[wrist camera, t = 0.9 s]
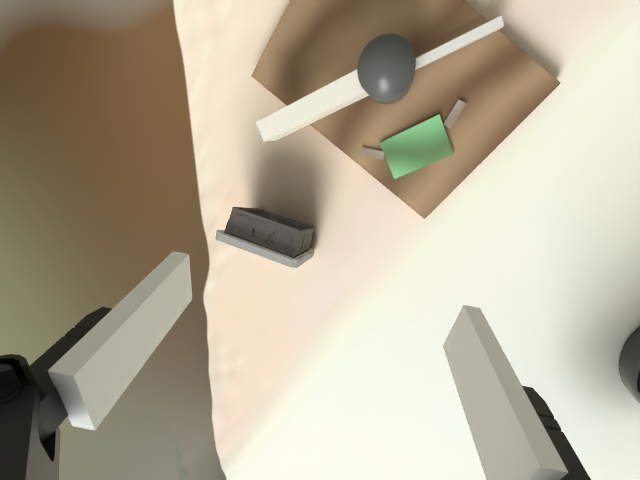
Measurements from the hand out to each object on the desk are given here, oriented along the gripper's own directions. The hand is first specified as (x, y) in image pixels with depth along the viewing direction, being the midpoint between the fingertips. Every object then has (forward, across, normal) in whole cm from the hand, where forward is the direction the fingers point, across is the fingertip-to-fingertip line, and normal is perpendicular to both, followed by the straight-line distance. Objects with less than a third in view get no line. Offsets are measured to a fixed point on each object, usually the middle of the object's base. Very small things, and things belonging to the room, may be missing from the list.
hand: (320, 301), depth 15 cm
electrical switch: (+23, +6, +8) cm, 25 cm away
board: (+23, -3, -10) cm, 25 cm away
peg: (+22, -2, -9) cm, 24 cm away
